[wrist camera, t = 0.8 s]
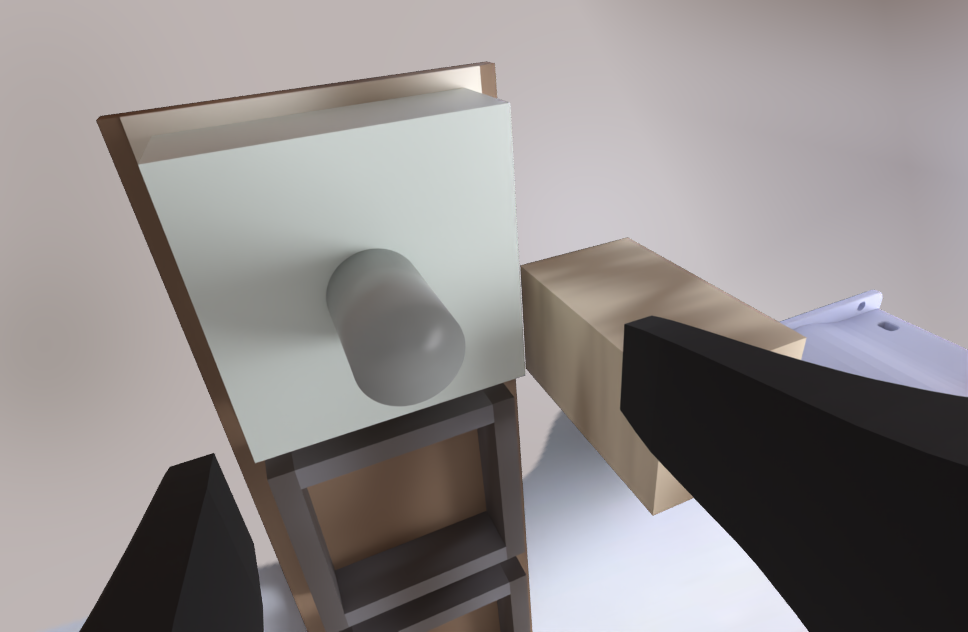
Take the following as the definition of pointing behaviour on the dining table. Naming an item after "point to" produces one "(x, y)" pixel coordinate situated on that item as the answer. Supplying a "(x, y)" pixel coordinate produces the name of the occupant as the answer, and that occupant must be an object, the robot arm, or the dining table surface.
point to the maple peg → (599, 343)
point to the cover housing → (348, 259)
